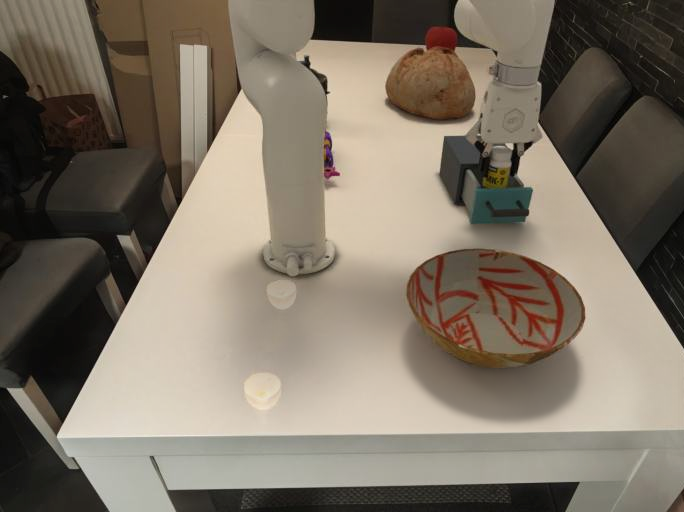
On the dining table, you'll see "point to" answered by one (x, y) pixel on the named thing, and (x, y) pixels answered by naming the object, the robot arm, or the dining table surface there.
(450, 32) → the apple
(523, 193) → the teal drawer
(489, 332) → the bowl
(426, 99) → the bread
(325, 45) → the dining table surface
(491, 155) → the supplement bottle
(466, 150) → the drawer box
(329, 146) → the purple toy figure
